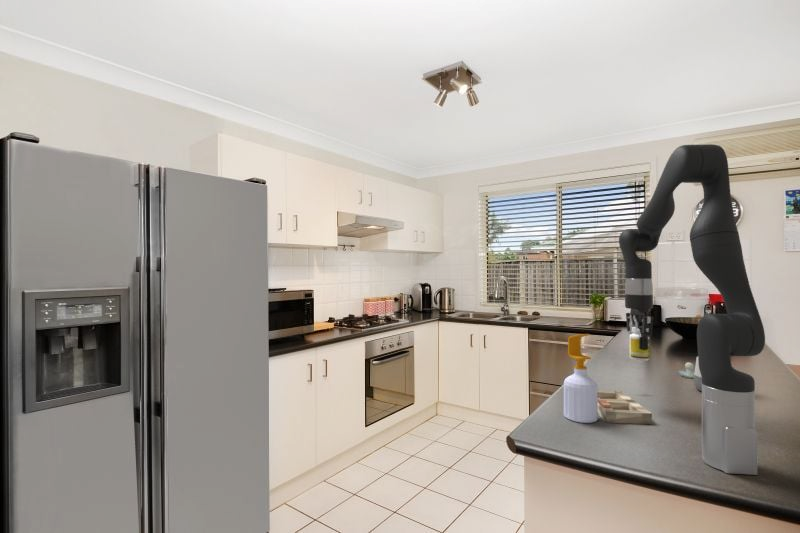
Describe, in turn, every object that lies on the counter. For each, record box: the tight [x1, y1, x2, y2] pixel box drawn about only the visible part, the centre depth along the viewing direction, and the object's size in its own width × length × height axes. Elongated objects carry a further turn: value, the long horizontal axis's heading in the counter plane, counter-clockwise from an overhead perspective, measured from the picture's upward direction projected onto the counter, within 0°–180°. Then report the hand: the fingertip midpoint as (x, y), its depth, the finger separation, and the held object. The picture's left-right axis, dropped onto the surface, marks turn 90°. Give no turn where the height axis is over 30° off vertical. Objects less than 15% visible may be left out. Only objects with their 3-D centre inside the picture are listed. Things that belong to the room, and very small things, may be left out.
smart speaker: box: [693, 356, 702, 393], centre depth 146 cm, size 10×9×14 cm
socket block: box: [598, 390, 653, 425], centre depth 127 cm, size 21×12×4 cm, turn 173°
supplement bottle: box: [628, 327, 651, 362], centre depth 129 cm, size 5×5×10 cm
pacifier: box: [678, 362, 695, 380], centre depth 167 cm, size 7×6×6 cm
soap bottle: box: [563, 333, 599, 424], centre depth 121 cm, size 9×9×25 cm
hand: (639, 347), depth 129 cm, fingers closed on supplement bottle, 5 cm apart
